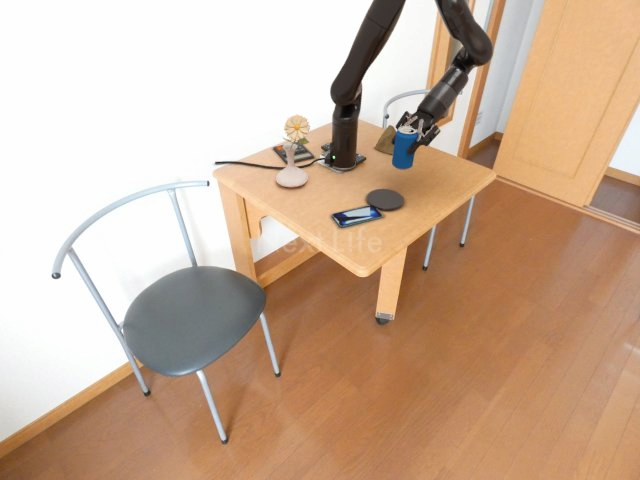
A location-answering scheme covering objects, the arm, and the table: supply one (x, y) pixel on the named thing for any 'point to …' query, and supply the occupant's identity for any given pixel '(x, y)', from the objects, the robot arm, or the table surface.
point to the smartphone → (356, 216)
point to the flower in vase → (297, 131)
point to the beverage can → (403, 147)
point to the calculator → (299, 154)
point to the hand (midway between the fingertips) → (400, 148)
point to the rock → (386, 140)
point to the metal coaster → (385, 199)
